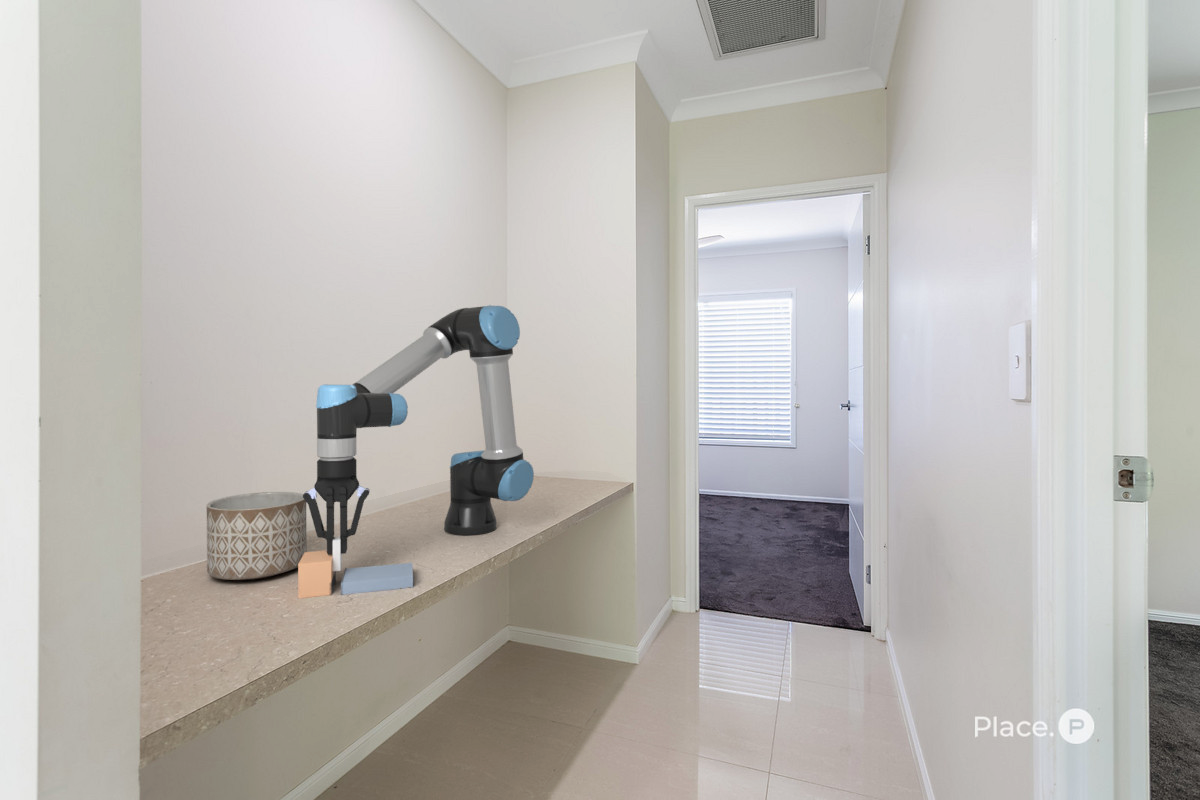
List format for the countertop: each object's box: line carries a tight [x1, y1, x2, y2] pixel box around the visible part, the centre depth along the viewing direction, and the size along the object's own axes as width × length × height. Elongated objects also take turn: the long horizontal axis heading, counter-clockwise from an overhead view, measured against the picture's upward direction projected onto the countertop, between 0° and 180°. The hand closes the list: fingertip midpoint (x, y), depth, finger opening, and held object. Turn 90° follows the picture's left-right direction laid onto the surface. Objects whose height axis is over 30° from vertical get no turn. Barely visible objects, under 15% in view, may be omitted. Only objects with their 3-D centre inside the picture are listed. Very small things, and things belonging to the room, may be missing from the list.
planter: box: [206, 491, 308, 581], centre depth 128 cm, size 19×19×16 cm
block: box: [297, 550, 337, 599], centre depth 118 cm, size 6×8×7 cm
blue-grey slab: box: [340, 562, 414, 596], centre depth 122 cm, size 14×9×3 cm, turn 109°
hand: (337, 568), depth 119 cm, fingers closed
